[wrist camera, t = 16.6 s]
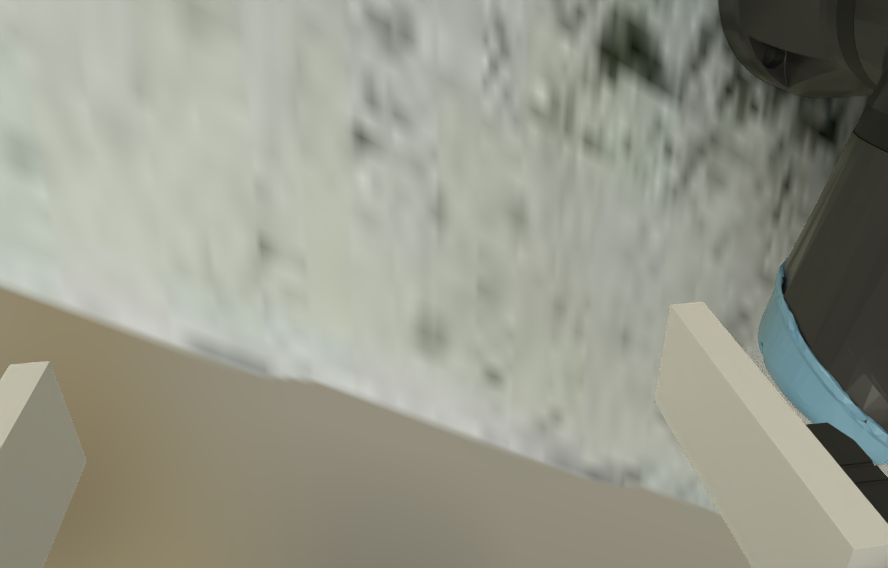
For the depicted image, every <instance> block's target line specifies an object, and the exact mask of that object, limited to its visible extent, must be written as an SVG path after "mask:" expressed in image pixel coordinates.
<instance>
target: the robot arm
mask: <svg viewBox="0 0 888 568" xmlns="http://www.w3.org/2000/svg"><path fill="white" fill-rule="evenodd" d="M719 8H720V15H721V21H722V25H723V29H724V32H725V35H726V37H727V40H728V42H729V44H730V46H731V48H732V50H733V52H734V53H735V55H736V57H737V58H738V59H739V61H740V62H741V63H742V64H743V65H744V66H745V67H746V68H747V69H748V70H749V71H750V72H751V73H752V74H753V75H755V76H756V77H758V78H759V79H761V80H763V81H764V82H766V83H769V84H771V85H773V86H775V87H778V88H780V89H782V90H785V91H787V92H790V93H793V94H796V95H800V96H805V97H812V98H838V97H851V96H863V95H872V96H871V98H870V99H869V101H868V104H867V106H866V108H865V110H864V112H863V114H862V116H861V118H860V120H859V122H858V124H857V126H856V128H855V129H854V131H853V132H852V134H851V136H850V138H849V140H848V142H847V144H846V146H845V148H844V150H843V152H842V154H841V156H840V158H839V160H838V162H837V164H836V166H835V168H834V170H833V172H832V174H831V176H830V178H829V180H828V182H827V184H826V186H825V188H824V190H823V192H822V194H821V196H820V198H819V200H818V202H817V204H816V206H815V208H814V210H813V212H812V214H811V216H810V217H809V219H808V221H807V223H806V225H805V227H804V229H803V231H802V233H801V235H800V237H799V238H798V240H797V242H796V244H795V246H794V248H793V250H792V252H791V254H790V256H789V257H788V258H787V259H786V260H785V262H784V263H783V264H782V265H781V267H780V269H779V270H778V273H777V276H776V283H775V289H774V292H773V294H772V296H771V298H770V301H769V303H768V305H767V307H766V310H765V312H764V314H763V316H762V319H761V322H760V325H759V331H758V343H759V347H760V350H761V353H762V355H763V357H764V364H765V366H766V368H767V370H768V372H769V374H770V375H771V377H772V379H773V380H774V382H775V383H776V385H777V386H778V388H779V389H780V390H781V391H782V393H783V394H784V395H785V396H786V397H787V399H788V400H789V401H790V402H791V403H792V404H793V405H794V406H795V407H796V408H797V409H798V410H799V411H800V412H801V413H802V414H803V415H804V416H805V417H806V418H807V419H809V420H810V421H811V422H812V423H813V424H808V425H805V424H804V422H803V421H802V420H801V419H800V418H799V416H798V415H797V414H796V413H795V412H794V410H793V409H792V408H791V407H790V406H789V404H788V403H787V402H786V401H785V400H784V398H783V397H782V396H781V395H780V394H779V392H778V391H777V390H776V389H775V388H774V386H773V385H772V384H771V383H770V382H769V380H768V379H767V378H766V377H765V376H764V374H763V373H762V372H761V371H760V370H759V368H758V367H757V366H756V365H755V363H754V362H753V361H752V360H751V359H750V357H749V356H748V355H747V354H746V353H745V351H744V350H743V349H742V348H741V347H740V345H739V344H738V343H737V342H736V341H735V339H734V338H733V337H732V336H731V335H730V333H729V332H728V331H727V330H726V329H725V327H724V326H723V325H722V324H721V323H720V321H719V320H718V319H717V318H716V317H715V315H714V314H713V313H712V312H711V311H710V309H709V308H708V307H707V306H706V305H705V303H704V302H694V303H683V304H672V305H670V308H669V314H668V321H667V327H666V333H665V339H664V345H663V351H662V357H661V363H660V370H659V376H658V382H657V388H656V394H655V400H654V402H655V403H656V405H657V407H658V409H659V410H660V412H661V414H662V415H663V417H664V419H665V420H666V422H667V424H668V426H669V427H670V429H671V431H672V432H673V434H674V436H675V437H676V439H677V441H678V443H679V444H680V446H681V448H682V449H683V451H684V453H685V454H686V456H687V458H688V460H689V461H690V463H691V465H692V466H693V468H694V470H695V471H696V473H697V475H698V477H699V478H700V480H701V482H702V483H703V485H704V487H705V488H706V490H707V492H708V494H709V495H710V497H711V499H712V500H713V502H714V504H715V505H716V507H717V509H718V511H719V512H720V514H721V516H722V517H723V519H724V521H725V522H726V524H727V526H728V527H729V529H730V531H731V532H732V534H733V536H734V538H735V539H736V541H737V543H738V544H739V546H740V548H741V550H742V551H743V553H744V555H745V556H746V558H747V560H748V561H749V563H750V565H751V567H752V568H888V477H887V476H886V475H885V474H884V473H883V472H882V471H881V470H880V468H879V467H878V466H877V465H882V464H884V463H886V464H888V0H719ZM86 462H87V460H86V457H85V455H84V452H83V450H82V447H81V444H80V441H79V439H78V436H77V433H76V430H75V428H74V425H73V422H72V420H71V417H70V415H69V412H68V409H67V406H66V403H65V401H64V398H63V396H62V393H61V390H60V388H59V385H58V382H57V379H56V377H55V374H54V371H53V368H52V366H51V363H50V361H45V362H35V363H23V364H13V365H10V366H9V367H8V369H7V370H6V372H5V374H4V375H3V377H2V378H1V380H0V568H43V567H44V564H45V562H46V559H47V557H48V555H49V552H50V549H51V547H52V545H53V542H54V540H55V537H56V535H57V533H58V530H59V528H60V525H61V523H62V520H63V518H64V515H65V513H66V510H67V508H68V506H69V503H70V501H71V498H72V496H73V493H74V491H75V489H76V486H77V484H78V481H79V479H80V476H81V474H82V471H83V469H84V467H85V464H86ZM873 463H874V464H876V466H874V464H873Z"/></svg>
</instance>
